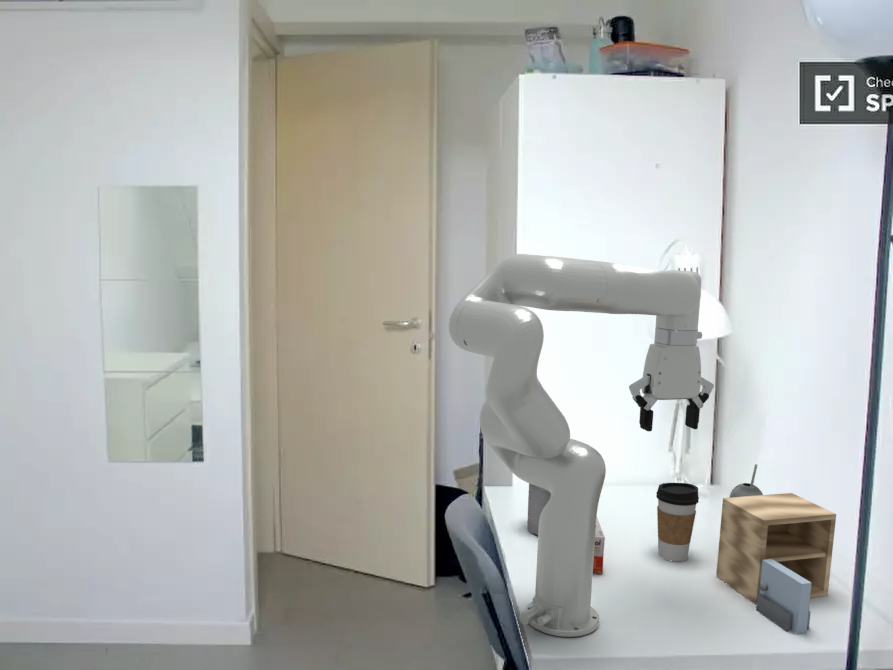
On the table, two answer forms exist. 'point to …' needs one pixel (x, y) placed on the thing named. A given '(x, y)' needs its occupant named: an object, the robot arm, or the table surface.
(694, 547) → the table surface
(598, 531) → the medicine box
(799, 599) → the door panel
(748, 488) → the beverage cup
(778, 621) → the hinge clips
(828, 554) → the cabinet
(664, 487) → the coffee cup
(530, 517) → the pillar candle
